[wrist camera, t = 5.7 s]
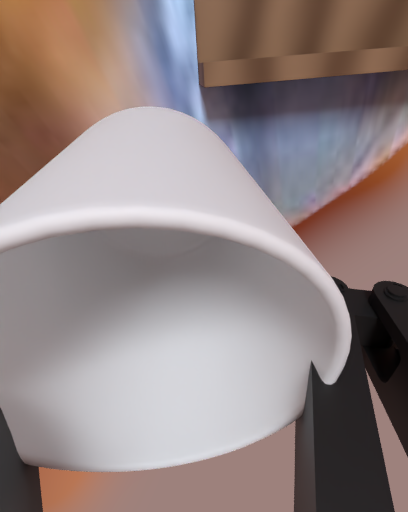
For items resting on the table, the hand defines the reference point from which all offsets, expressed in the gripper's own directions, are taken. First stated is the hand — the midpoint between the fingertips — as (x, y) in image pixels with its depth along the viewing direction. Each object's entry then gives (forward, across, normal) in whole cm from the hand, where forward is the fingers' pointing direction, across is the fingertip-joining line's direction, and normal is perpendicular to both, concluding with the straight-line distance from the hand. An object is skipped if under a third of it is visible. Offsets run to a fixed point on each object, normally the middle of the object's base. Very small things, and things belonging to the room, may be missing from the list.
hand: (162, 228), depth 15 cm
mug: (0, 0, 0) cm, 1 cm away
